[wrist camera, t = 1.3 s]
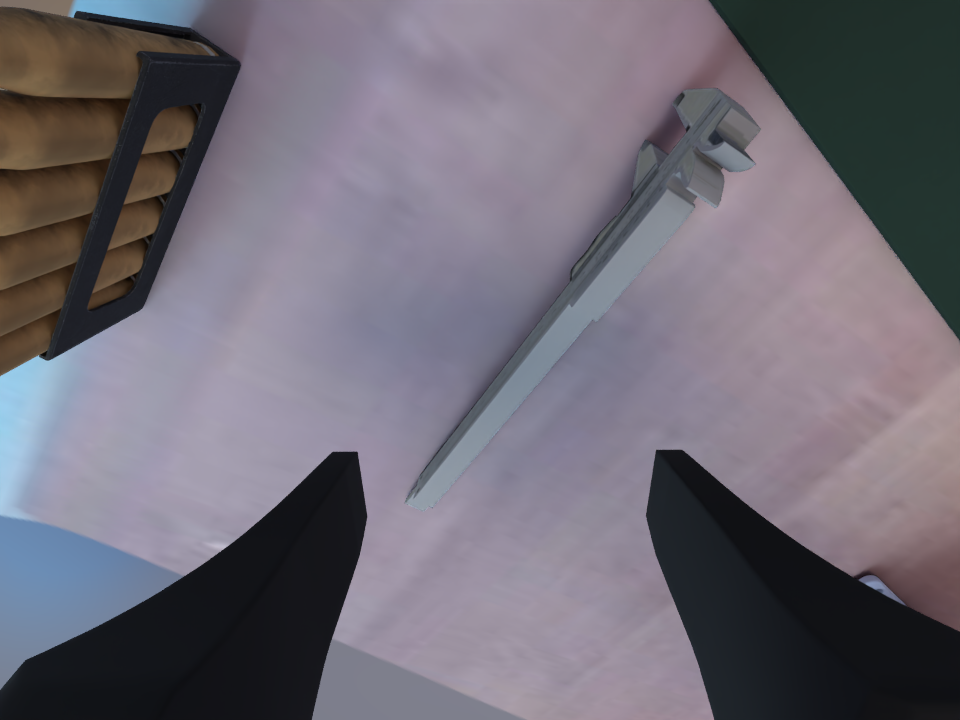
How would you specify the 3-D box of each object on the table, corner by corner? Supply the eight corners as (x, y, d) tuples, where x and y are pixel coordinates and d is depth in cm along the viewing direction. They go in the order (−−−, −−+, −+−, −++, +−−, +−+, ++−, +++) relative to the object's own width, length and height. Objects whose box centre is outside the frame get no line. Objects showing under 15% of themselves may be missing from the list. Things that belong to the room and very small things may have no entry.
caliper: (676, 88, 18) (764, 81, 12) (702, 106, 18) (800, 108, 12) (405, 496, 26) (380, 608, 20) (425, 505, 26) (406, 618, 20)
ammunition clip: (141, 311, 21) (-211, 521, 11) (96, 287, 21) (-319, 480, 10) (241, 63, 17) (-161, -3, 7) (188, 26, 17) (-334, -105, 6)
